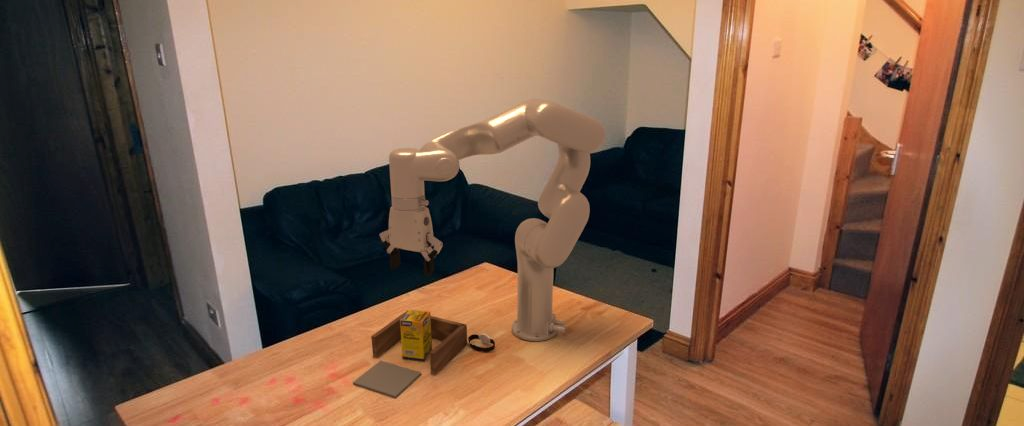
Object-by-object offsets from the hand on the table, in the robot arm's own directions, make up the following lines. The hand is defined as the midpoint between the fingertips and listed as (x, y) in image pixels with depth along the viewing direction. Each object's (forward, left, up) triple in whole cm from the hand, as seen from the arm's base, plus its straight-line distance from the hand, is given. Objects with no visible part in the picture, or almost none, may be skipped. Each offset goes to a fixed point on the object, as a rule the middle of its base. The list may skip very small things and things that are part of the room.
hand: (412, 270), depth 128 cm
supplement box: (0, 0, -23) cm, 23 cm away
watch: (-13, -10, -23) cm, 29 cm away
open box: (0, -2, -23) cm, 23 cm away
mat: (0, +12, -23) cm, 26 cm away
